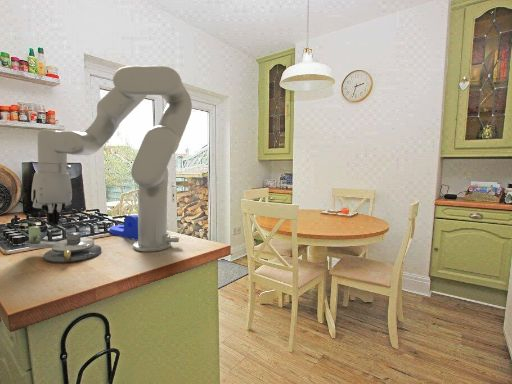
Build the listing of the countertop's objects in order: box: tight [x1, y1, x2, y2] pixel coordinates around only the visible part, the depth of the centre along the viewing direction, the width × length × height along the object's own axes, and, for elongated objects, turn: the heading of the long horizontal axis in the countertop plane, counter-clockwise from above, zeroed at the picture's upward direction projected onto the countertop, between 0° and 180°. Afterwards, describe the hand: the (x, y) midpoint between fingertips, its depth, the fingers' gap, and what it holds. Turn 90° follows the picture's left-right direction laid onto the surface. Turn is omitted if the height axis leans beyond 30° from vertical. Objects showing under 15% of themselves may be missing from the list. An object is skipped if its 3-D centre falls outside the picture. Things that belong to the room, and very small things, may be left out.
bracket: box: [109, 214, 138, 241], centre depth 110 cm, size 18×8×9 cm, turn 65°
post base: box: [43, 244, 102, 264], centre depth 85 cm, size 15×16×4 cm
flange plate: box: [28, 225, 95, 253], centre depth 84 cm, size 18×11×6 cm, turn 98°
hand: (53, 223), depth 90 cm, fingers closed
